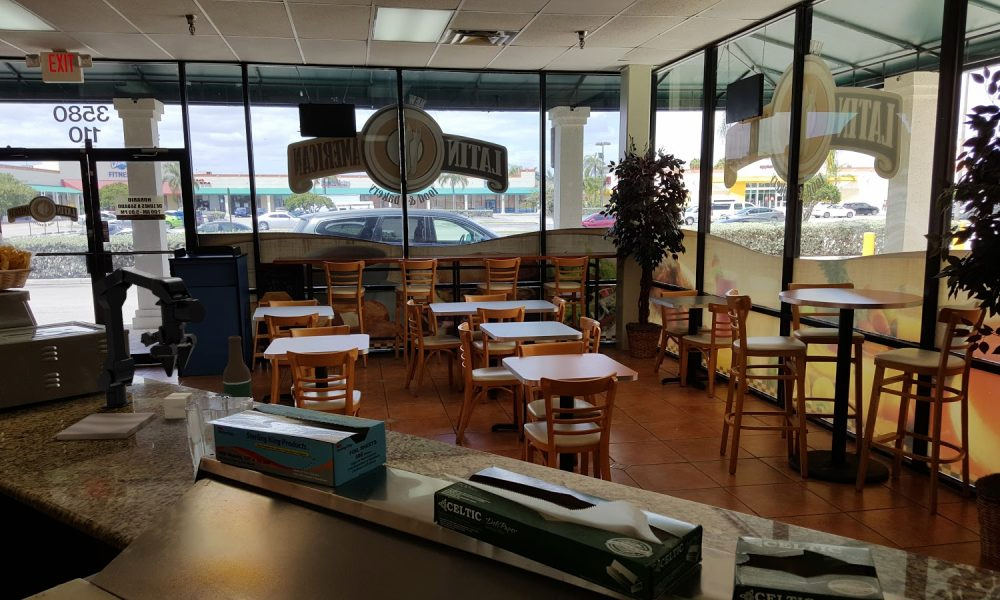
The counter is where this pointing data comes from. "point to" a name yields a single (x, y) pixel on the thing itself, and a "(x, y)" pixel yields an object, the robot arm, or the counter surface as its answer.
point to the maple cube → (177, 404)
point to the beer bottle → (236, 371)
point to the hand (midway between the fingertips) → (176, 373)
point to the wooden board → (107, 426)
